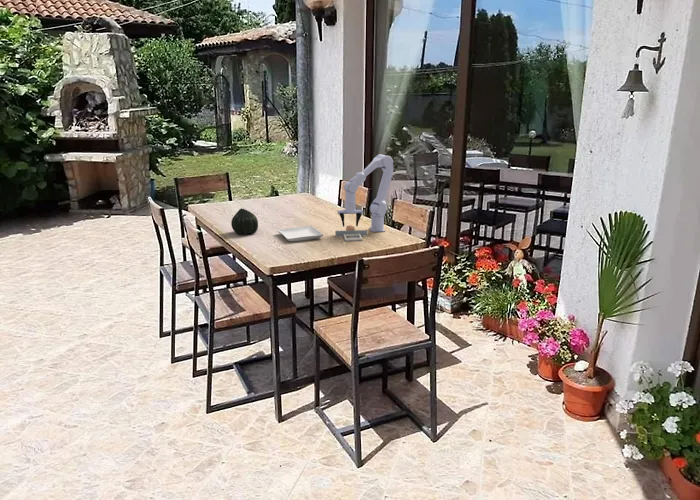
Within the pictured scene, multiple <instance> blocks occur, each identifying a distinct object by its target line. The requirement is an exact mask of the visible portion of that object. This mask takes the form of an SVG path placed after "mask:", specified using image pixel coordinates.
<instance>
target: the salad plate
mask: <svg viewBox="0 0 700 500" xmlns="http://www.w3.org/2000/svg"><path fill="white" fill-rule="evenodd" d="M276 231H277V232H278V233H279V234H280V235H281V236H282V237H283V238H284V239H285V240H286V241H289V242H302V241H311V240H317V239H320V238H322V237H323V236H324V233H322V232H321V231H320V230H318V229H316V227H314V226H313V225H307V226H298V227H287V228H279V229H277V230H276Z"/></svg>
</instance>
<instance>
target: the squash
mask: <svg viewBox="0 0 700 500" xmlns="http://www.w3.org/2000/svg"><path fill="white" fill-rule="evenodd" d="M230 223H231V224H230V225H231V228H232V230H233V232H235V234H238V235H240V236H242V235H245V234H250V235H252V234H255V233H256V232H258V229H259V220H258V218H257V215H255V214H254V213H252V212H251V211H250V210H247V209H246V208H239V209H238V211H237V212H236V213H235V214H234V215H233V216H232V218H231V222H230Z"/></svg>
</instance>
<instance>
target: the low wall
mask: <svg viewBox="0 0 700 500" xmlns="http://www.w3.org/2000/svg"><path fill="white" fill-rule="evenodd" d="M344 234H360V235H361V237H362V236H363V237H364V236H365V237H366V236H368V230H367V229H366V230H365V229H364V230H363V229H362V230H356V229H355V230H353V231H346V230H335V237H343V236H344Z"/></svg>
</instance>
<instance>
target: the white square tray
mask: <svg viewBox="0 0 700 500" xmlns="http://www.w3.org/2000/svg"><path fill="white" fill-rule="evenodd" d="M342 238H343V240H344V242H362V241H364V240H363V237H362V236H361V235H360V234H344V236H342Z"/></svg>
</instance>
